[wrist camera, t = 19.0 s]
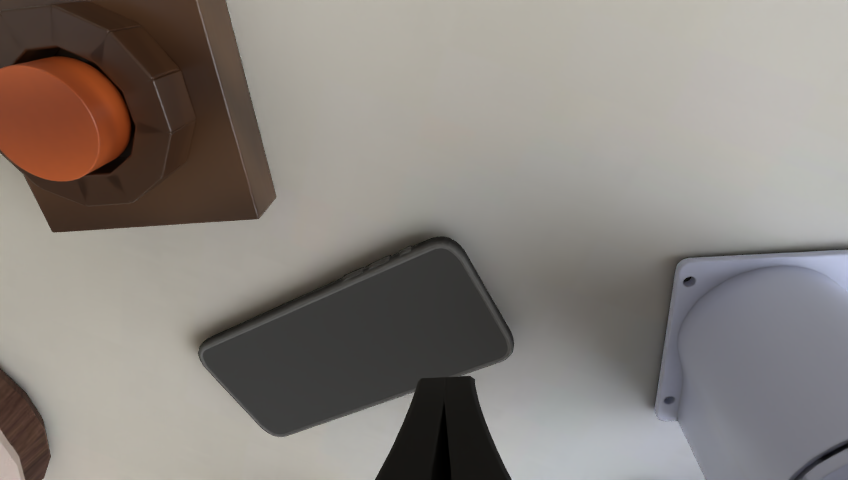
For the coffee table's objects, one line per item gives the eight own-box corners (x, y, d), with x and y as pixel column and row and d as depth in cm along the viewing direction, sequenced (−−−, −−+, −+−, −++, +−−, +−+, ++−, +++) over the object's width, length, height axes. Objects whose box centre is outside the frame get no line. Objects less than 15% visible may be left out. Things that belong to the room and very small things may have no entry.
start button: (147, 159, 18) (117, 177, 16) (53, 167, 18) (14, 185, 16) (106, 50, 16) (68, 59, 14) (3, 61, 16) (-45, 71, 15)
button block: (277, 197, 22) (242, 241, 18) (86, 211, 23) (18, 255, 19) (208, -71, 17) (142, -82, 14) (-28, -40, 18) (-145, -42, 15)
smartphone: (185, 351, 25) (451, 233, 21) (194, 339, 26) (451, 223, 22) (273, 444, 28) (523, 357, 24) (279, 430, 29) (522, 344, 25)
